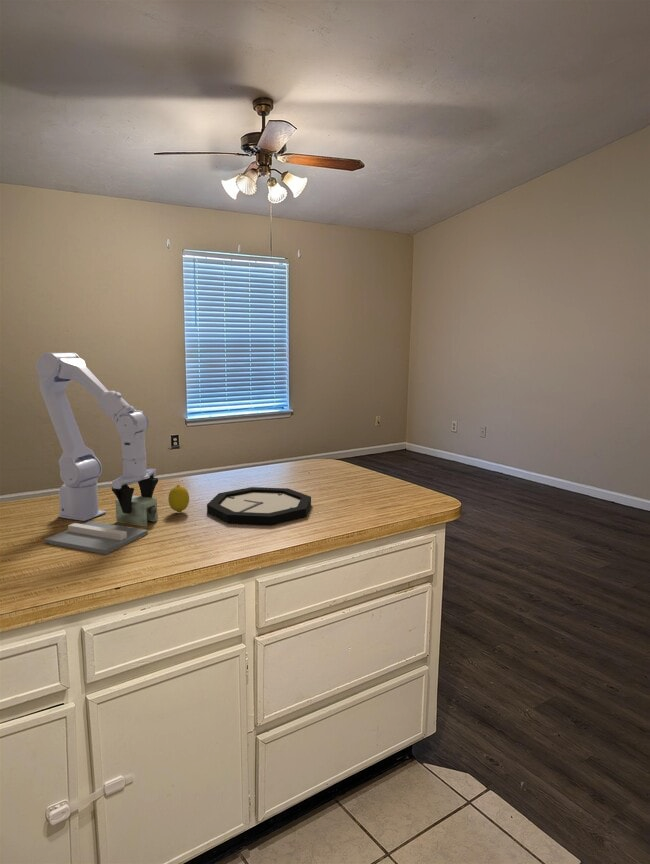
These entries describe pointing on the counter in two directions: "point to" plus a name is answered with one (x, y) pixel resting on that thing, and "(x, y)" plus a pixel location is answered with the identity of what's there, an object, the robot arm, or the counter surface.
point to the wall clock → (259, 506)
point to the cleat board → (96, 537)
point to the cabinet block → (138, 511)
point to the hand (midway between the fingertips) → (137, 508)
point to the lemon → (178, 498)
